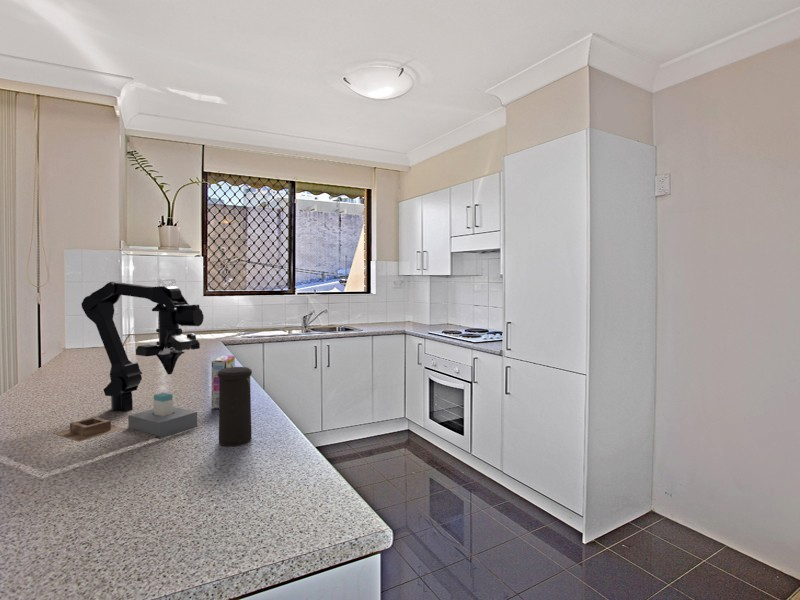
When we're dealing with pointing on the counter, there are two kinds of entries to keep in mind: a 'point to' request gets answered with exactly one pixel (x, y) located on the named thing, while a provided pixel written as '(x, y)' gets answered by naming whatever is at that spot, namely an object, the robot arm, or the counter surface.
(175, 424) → the socket block
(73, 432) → the holster
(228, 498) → the counter surface
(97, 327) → the robot arm
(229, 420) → the container
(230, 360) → the candy bar box
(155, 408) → the plug
